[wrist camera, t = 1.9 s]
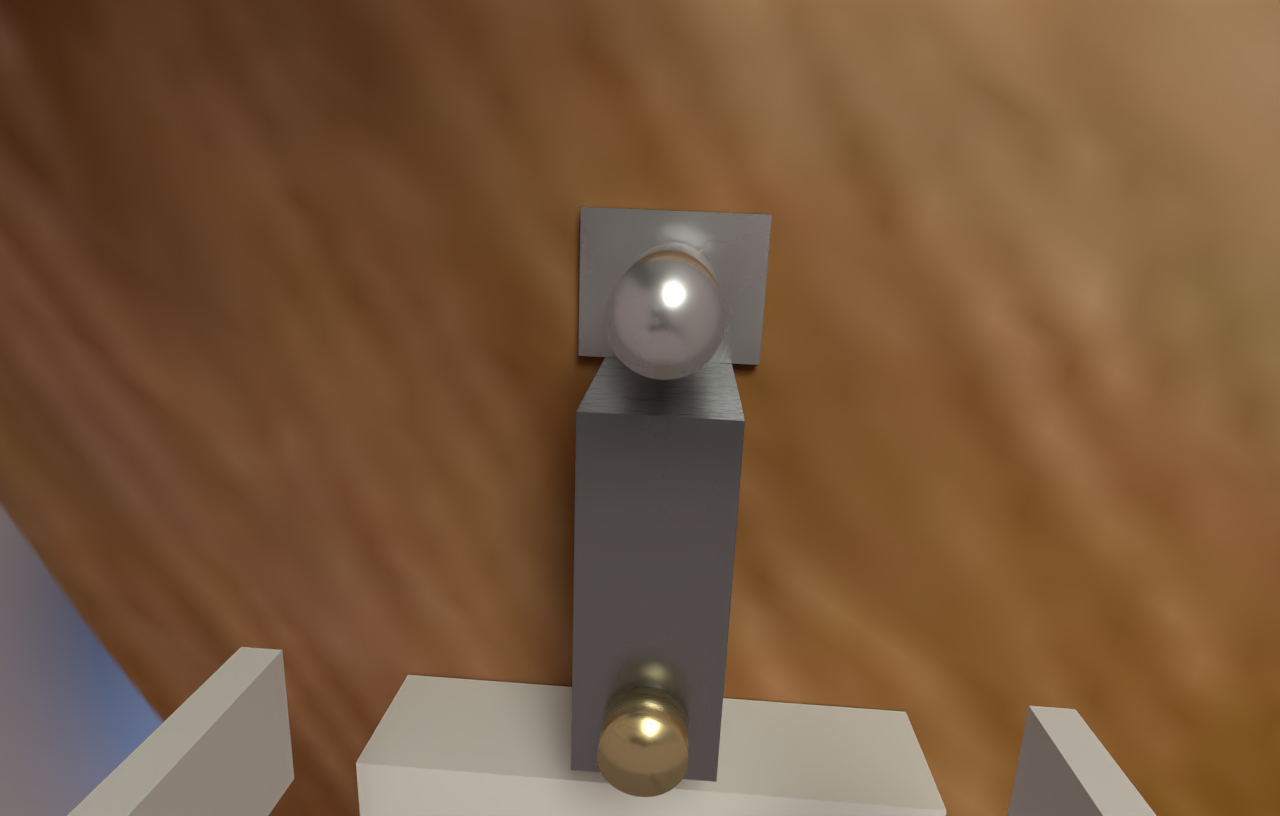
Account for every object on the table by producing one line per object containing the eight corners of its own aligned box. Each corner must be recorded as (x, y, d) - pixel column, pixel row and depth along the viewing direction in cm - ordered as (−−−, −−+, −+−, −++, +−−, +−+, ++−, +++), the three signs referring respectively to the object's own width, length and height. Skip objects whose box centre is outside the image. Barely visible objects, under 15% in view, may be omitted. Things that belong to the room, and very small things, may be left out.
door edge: (407, 674, 25) (355, 763, 21) (905, 711, 24) (946, 810, 20) (410, 726, 25) (360, 821, 22) (897, 764, 25) (935, 870, 21)
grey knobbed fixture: (583, 206, 20) (539, 211, 15) (770, 214, 20) (801, 222, 14) (580, 352, 22) (539, 410, 16) (758, 361, 21) (782, 424, 15)
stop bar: (607, 353, 22) (567, 428, 15) (730, 359, 21) (748, 439, 15) (600, 632, 24) (562, 808, 17) (710, 639, 24) (717, 821, 17)
